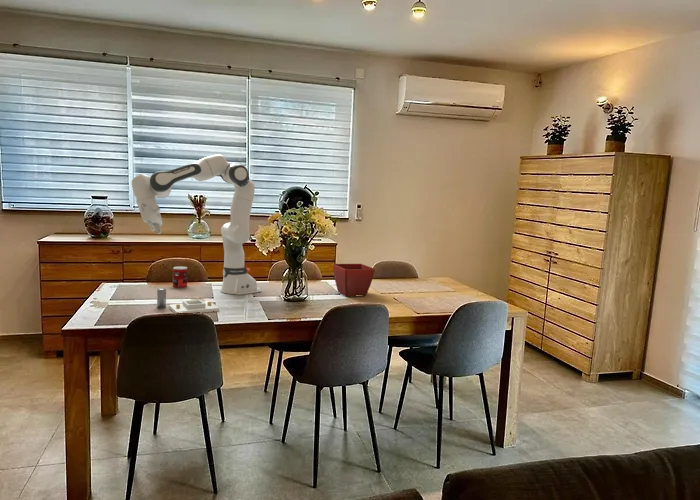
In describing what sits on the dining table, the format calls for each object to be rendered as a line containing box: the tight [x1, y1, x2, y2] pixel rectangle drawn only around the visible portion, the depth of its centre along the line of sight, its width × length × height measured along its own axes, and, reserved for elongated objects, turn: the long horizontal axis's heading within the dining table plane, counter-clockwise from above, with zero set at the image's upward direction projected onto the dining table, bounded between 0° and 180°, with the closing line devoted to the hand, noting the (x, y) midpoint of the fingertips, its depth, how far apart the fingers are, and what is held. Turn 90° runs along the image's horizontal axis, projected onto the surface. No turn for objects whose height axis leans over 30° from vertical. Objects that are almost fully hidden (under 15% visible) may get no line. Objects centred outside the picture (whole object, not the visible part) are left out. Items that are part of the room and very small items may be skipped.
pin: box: [156, 287, 167, 309], centre depth 237 cm, size 4×4×9 cm
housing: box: [168, 299, 220, 314], centre depth 237 cm, size 20×14×4 cm
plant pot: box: [332, 263, 376, 297], centre depth 289 cm, size 19×19×17 cm
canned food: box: [172, 265, 189, 289], centre depth 283 cm, size 8×8×11 cm
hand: (156, 232), depth 245 cm, fingers open, 8 cm apart
